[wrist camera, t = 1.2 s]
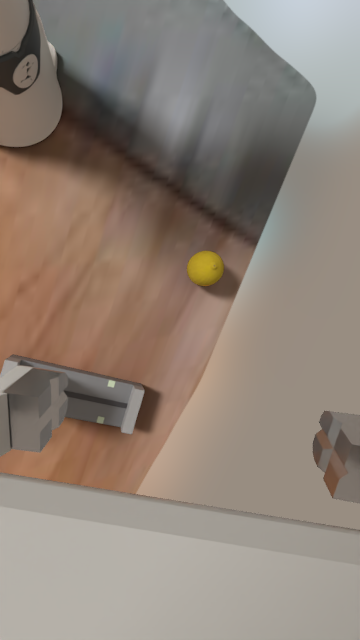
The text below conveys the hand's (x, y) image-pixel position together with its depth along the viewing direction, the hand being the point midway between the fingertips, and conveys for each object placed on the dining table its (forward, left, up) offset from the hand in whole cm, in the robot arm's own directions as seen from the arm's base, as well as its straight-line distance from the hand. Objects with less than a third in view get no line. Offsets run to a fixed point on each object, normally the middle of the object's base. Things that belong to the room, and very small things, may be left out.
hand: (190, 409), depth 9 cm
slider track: (+2, -13, -40) cm, 42 cm away
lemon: (+5, +15, -40) cm, 44 cm away
